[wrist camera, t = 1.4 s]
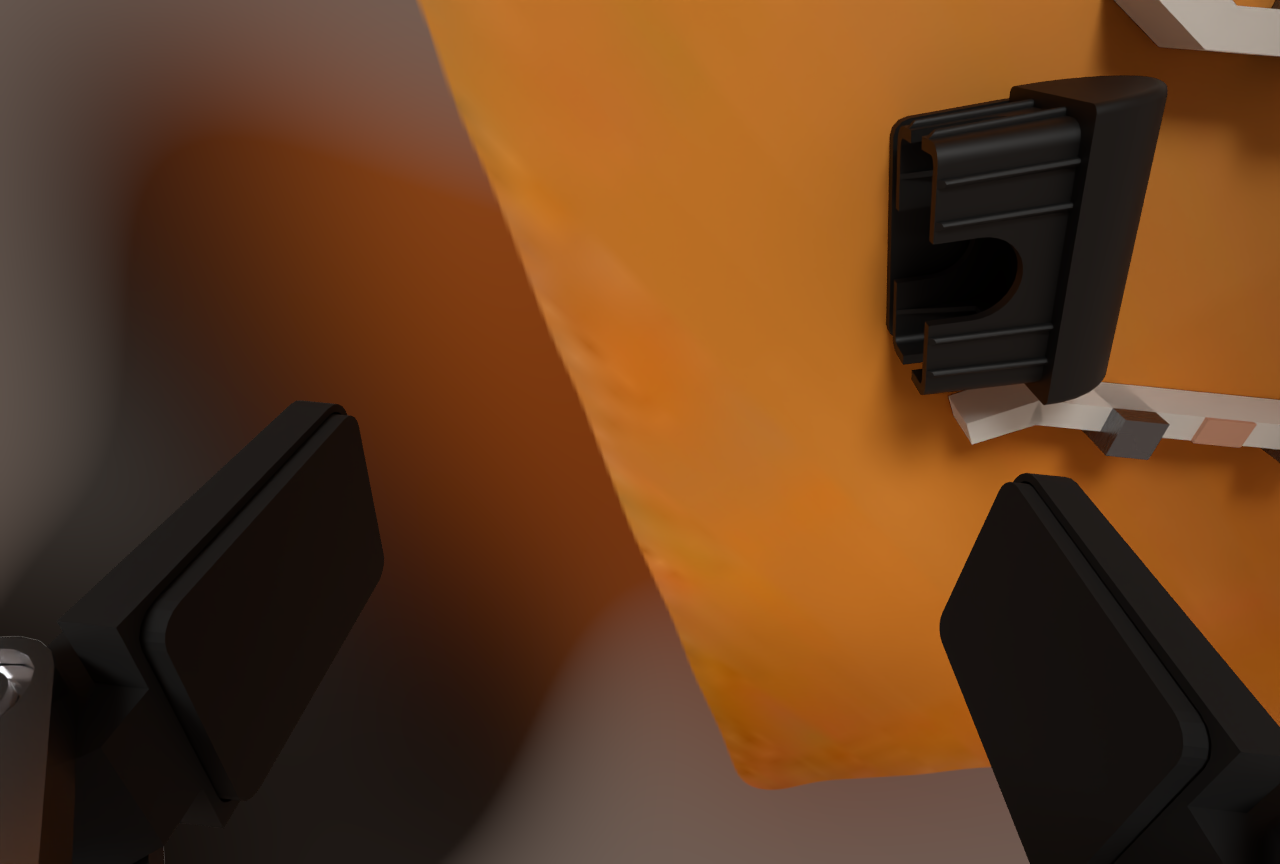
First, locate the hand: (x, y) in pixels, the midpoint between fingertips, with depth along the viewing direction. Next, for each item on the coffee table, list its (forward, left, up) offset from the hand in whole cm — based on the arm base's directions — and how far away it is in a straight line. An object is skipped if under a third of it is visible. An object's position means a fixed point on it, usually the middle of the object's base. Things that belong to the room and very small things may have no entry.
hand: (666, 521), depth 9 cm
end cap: (0, +12, -21) cm, 24 cm away
